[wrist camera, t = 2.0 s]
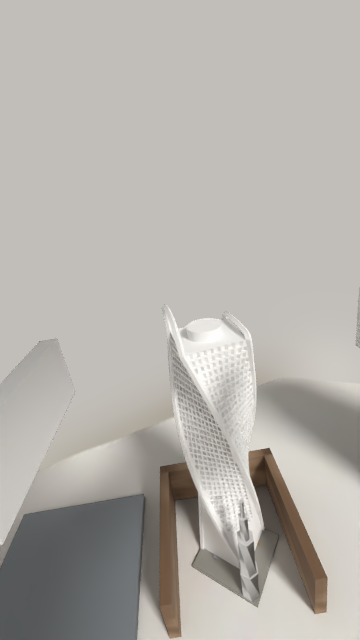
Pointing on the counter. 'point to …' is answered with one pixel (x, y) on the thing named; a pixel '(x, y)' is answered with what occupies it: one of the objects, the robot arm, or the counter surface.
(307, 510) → the counter surface
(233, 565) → the twisted skyscraper model
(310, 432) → the counter surface
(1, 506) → the robot arm
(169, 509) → the walnut bay
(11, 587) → the slate mat
